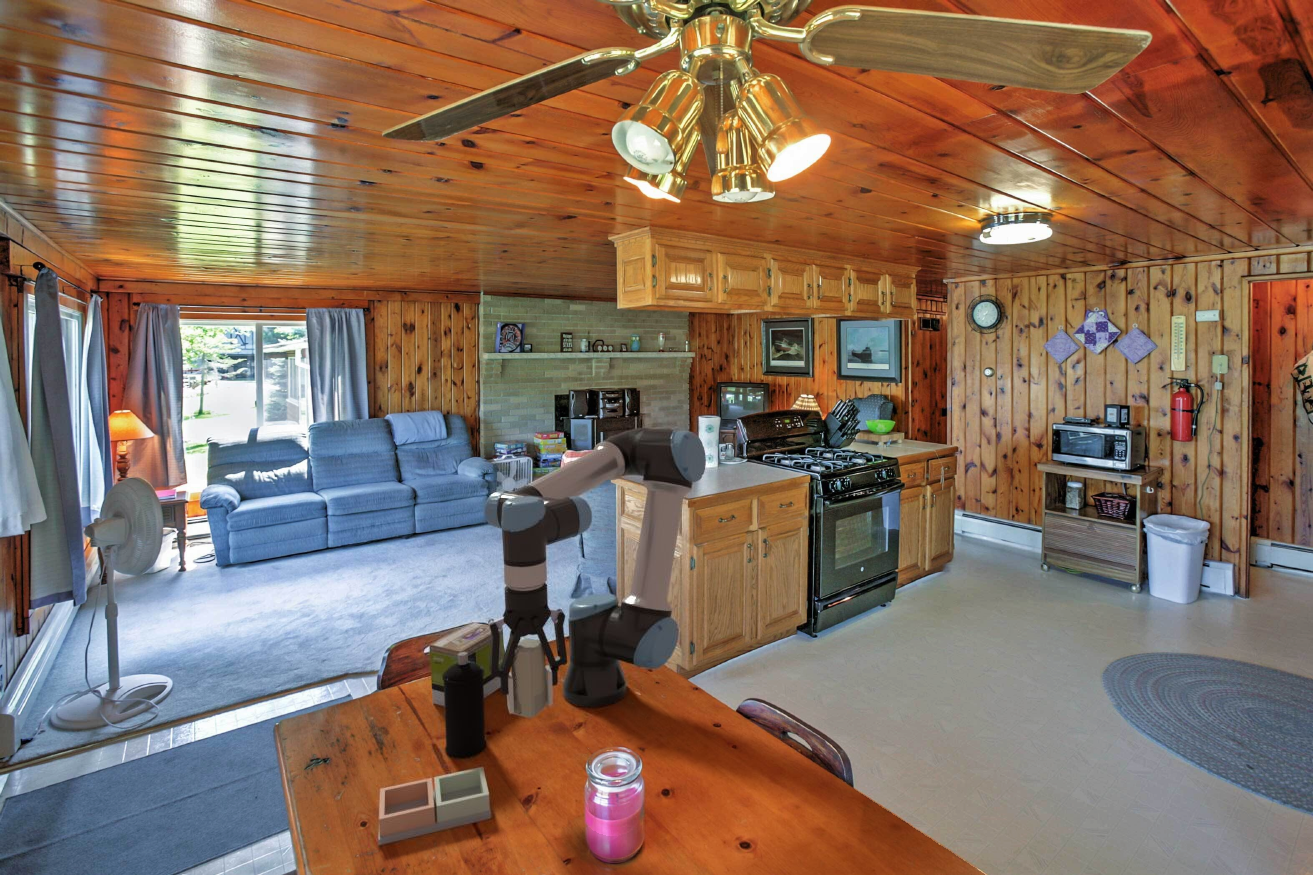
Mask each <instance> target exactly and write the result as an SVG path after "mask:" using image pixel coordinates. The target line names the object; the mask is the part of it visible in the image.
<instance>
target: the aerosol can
mask: <svg viewBox="0 0 1313 875" xmlns="http://www.w3.org/2000/svg"><path fill="white" fill-rule="evenodd" d="M483 675H484V669H483V668H482V667H480V666H479V665H478V664H476V663H474V662H469V661H468V653H467V652H460V653H458V663H456V664H454V665H452V666H450V667H449V668H448V669H447V670H446V671H445V672H444V674H443V675H442V679H443V681H444V701H445V707H444V722H445V748H444V752H445V754H446V755H447V756H448V757H450V758H453V759H457V760H458V759H459V760H460V759H469V758H473V757H476V756H477V755H479V754H481V753H483V751H484V750H485V749H486V748H487V745H488V744H487V740H486V725H485V724H486V721H485V720H486V718H485V698H484V687H483Z"/></svg>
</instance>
